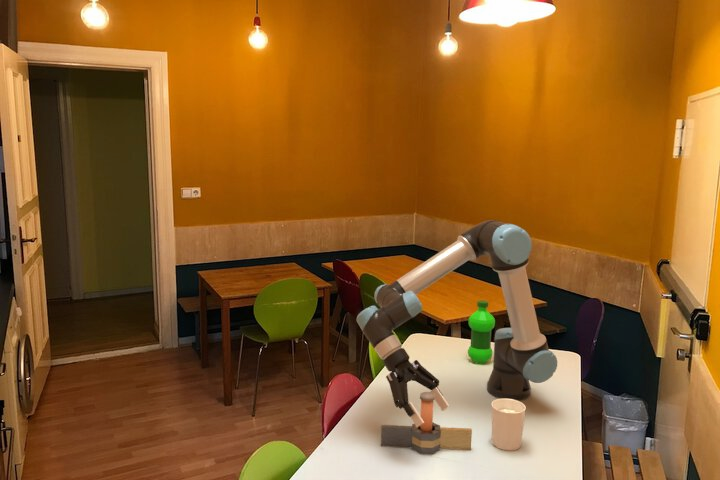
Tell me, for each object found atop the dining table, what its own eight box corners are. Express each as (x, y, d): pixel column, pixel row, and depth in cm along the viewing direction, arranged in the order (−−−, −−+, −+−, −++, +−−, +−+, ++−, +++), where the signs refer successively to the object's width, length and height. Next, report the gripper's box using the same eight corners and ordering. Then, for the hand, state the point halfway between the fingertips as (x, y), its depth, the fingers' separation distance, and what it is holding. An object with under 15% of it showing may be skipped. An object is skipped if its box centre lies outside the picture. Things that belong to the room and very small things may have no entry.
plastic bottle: (466, 356, 246) (468, 298, 242) (491, 357, 245) (495, 299, 241) (467, 365, 236) (470, 304, 232) (493, 366, 235) (497, 305, 231)
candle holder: (504, 455, 168) (506, 415, 166) (482, 439, 177) (484, 402, 175) (530, 447, 172) (533, 408, 170) (507, 432, 181) (510, 395, 179)
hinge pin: (432, 443, 174) (434, 392, 171) (433, 450, 170) (435, 398, 167) (417, 442, 174) (419, 391, 171) (418, 450, 170) (420, 397, 167)
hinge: (468, 441, 175) (469, 423, 174) (472, 456, 167) (473, 436, 166) (381, 438, 176) (381, 419, 175) (380, 452, 168) (381, 432, 167)
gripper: (408, 349, 187) (447, 407, 180) (359, 372, 168) (400, 438, 161) (423, 337, 183) (463, 396, 176) (374, 358, 164) (417, 426, 157)
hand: (433, 416), depth 169 cm, fingers open, 13 cm apart
